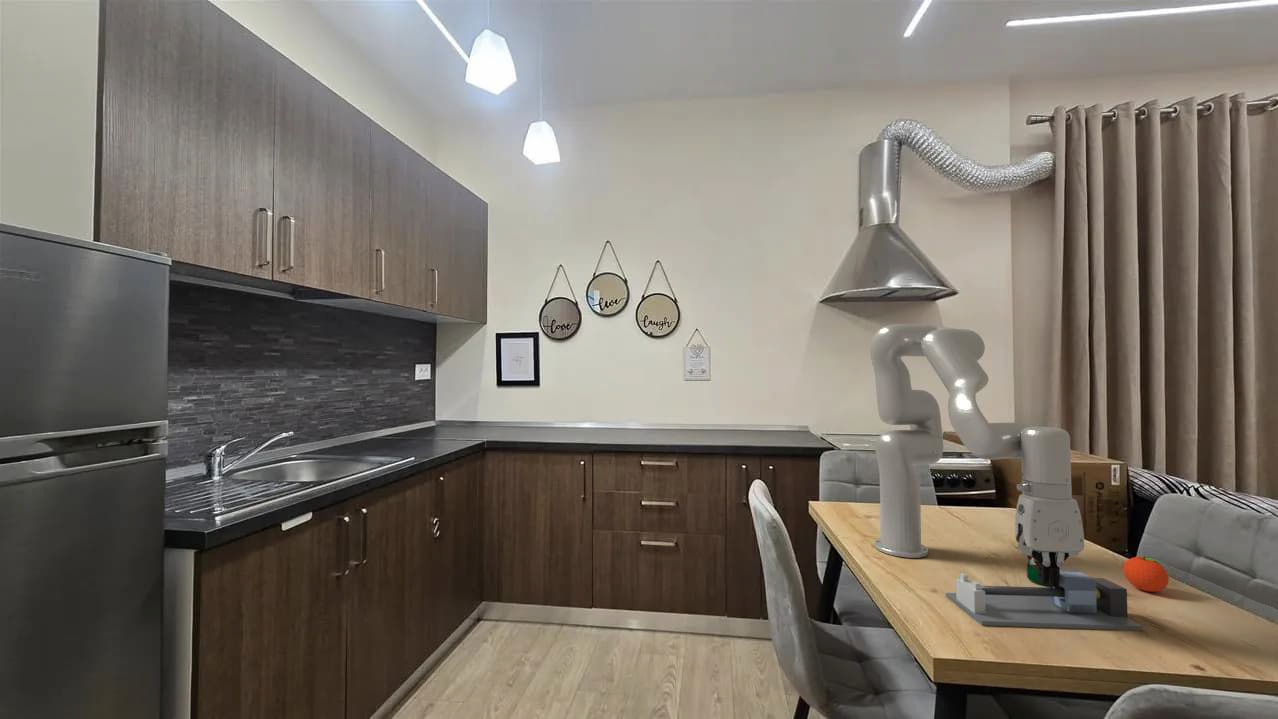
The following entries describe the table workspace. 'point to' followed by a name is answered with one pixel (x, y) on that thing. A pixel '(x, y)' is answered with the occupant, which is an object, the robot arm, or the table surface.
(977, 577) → the table surface
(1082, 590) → the sleeve
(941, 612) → the table surface
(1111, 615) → the linear slide rail
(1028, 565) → the soda can
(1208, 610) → the table surface
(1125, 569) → the clementine
